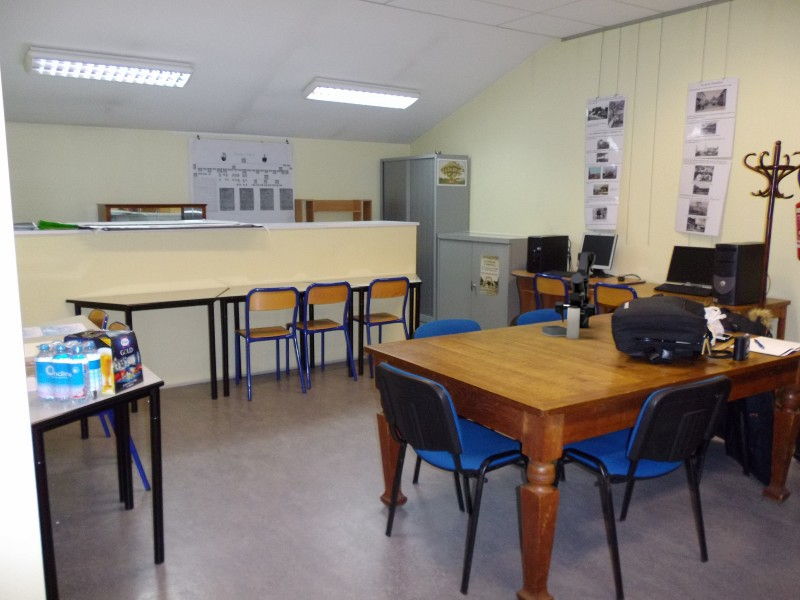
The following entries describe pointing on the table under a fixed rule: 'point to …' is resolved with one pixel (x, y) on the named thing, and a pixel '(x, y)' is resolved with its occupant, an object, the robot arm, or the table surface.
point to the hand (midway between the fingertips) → (572, 322)
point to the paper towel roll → (573, 323)
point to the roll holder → (554, 331)
